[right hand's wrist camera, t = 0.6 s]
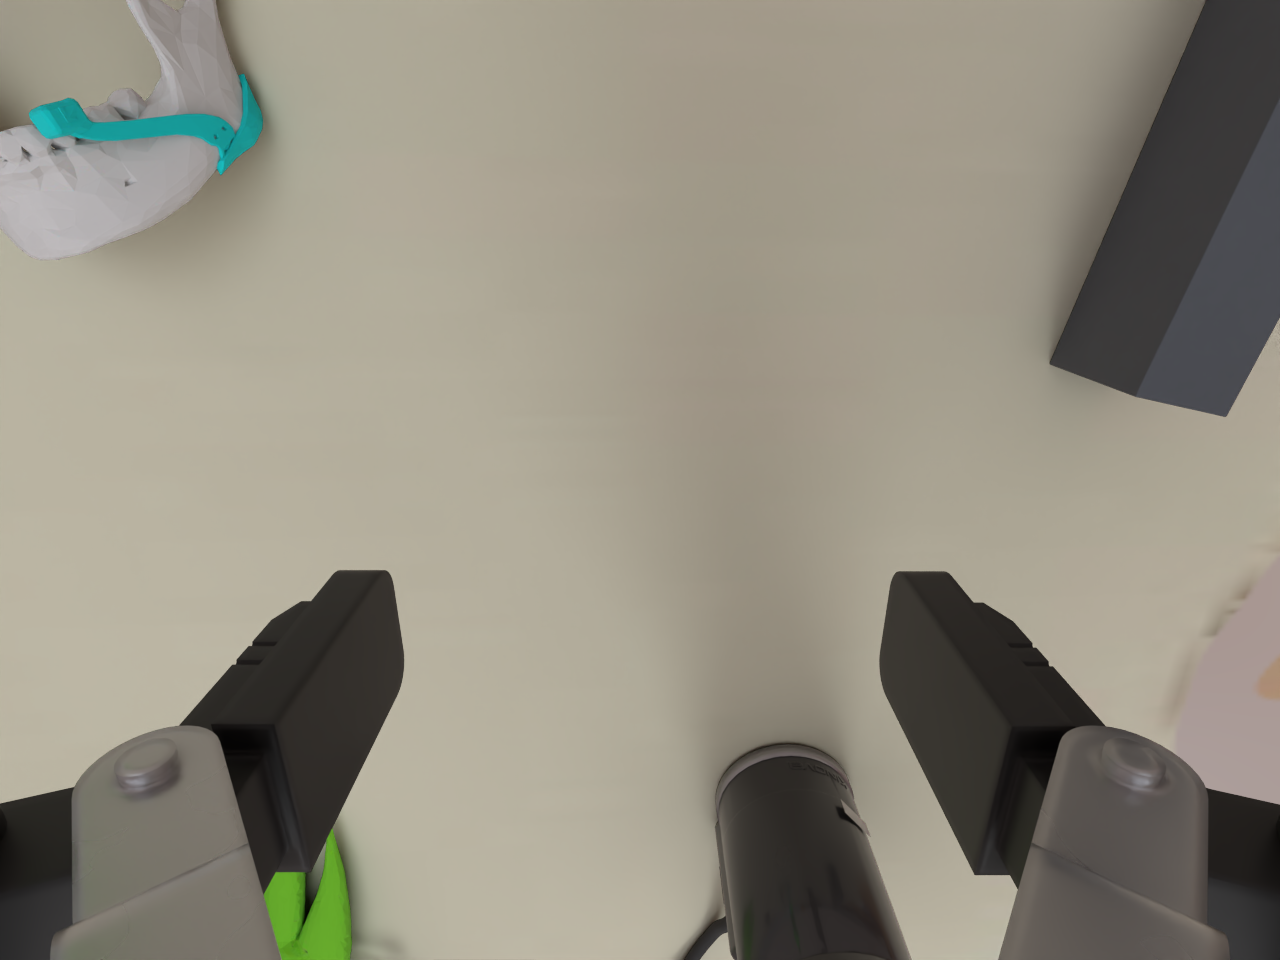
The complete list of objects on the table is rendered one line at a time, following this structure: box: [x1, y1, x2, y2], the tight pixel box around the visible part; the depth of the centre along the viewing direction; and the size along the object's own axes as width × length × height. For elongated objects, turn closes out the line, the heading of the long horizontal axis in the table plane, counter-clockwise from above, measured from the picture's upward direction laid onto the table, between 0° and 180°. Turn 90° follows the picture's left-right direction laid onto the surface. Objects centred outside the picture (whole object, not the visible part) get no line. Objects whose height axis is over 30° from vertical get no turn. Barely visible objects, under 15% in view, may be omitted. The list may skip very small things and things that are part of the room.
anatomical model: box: [0, 0, 263, 260], centre depth 30 cm, size 15×10×10 cm
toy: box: [264, 829, 352, 960], centre depth 51 cm, size 28×5×30 cm
